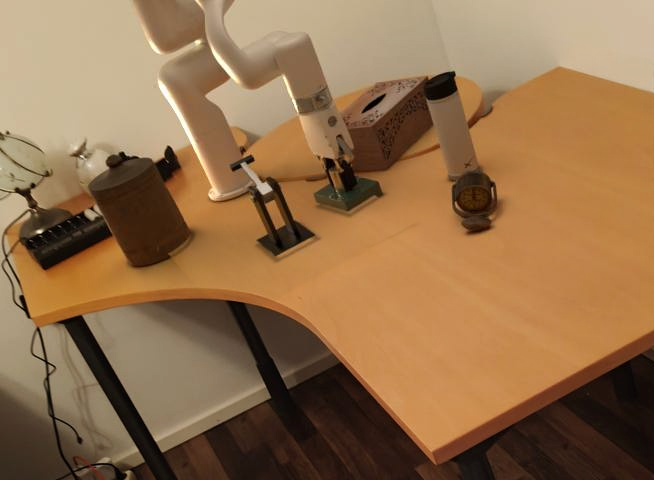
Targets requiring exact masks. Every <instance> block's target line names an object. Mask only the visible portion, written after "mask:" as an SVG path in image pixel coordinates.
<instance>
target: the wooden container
mask: <svg viewBox="0 0 654 480" xmlns="http://www.w3.org/2000/svg"><path fill="white" fill-rule="evenodd" d="M105 165H106V167H108V169H106V170H104V171H102V172H101V173H99V174H98V175H96V176H94V178H93V179H91V180H90V182H89V183H88V184H87V190H88V193H89V194H90V196H91V198H92V199H93V201H94V202H95V204H96V206H97V208H98V210H99V212H100V214H101V216H102V217H103V220H104V221H105V223H106V225H107V227H108V229H109V230H110V232H111V234H112V236H113V238H114V239H115V241H116V243H117V246H119V248H120V249H121V251H122V253H123V255H124V256H125V258H126V260H127V262H128V263H129V264H130V265H131V266H135V267H142V266H148V265H152V264H156V263H158V262H162V261H164V260H166V259H167V258H170V257H171V255H170V253H171V252H173V251H175V250H176V249H178V248H179V247H181V246H182V245H183V244H184V243H185V242H186V241H187V240H188V239H189V237H190V235H191V230H190V228H189V226H188V225H187V221H185V219H184V215H183V214H182V212H181V210H180V208H179V207H178V205H177V203H176V201H175V199H174V198H173V196H172V194H171V192H170V190H169V189H168V187H167V185H166V182H165V181H164V179H163V177H162V175H161V173H160V170H159V169H158V167H157V165H156V163H155V161H154V160H153V159H152V157H151V158H150V157H138V158H133V159H130V160H126V161H124V162H123V158H122V157H121V155H119V154H111V155H109V156H107V158H106V160H105Z"/></svg>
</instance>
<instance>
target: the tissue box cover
mask: <svg viewBox="0 0 654 480" xmlns="http://www.w3.org/2000/svg"><path fill="white" fill-rule="evenodd" d="M429 79H430V78H429V76H428V75H425V76H417V77H411V78H410V77H408V78H400V79H394V80H393V79H392V80H385V81H378V82H375V83H374V84H373V85H371V86H370V88H368V89H367V90H366V91H364V92H363V93H362V94H361V95H359V97H357V98H356V99H355V100H354V101H353V102H352V103H350V104H349V105H348V106H347V107H345V108H344V109H343V110H342V111H341V112H339V113H340V114H341V116H342V119H343V121H344V123H345V125H346V127H347V130H348V132H349V135H350V137H351V140H352V142H353V145H354V149H353V150H352V151H351V152H352V153H353V155H354V159H353V160H352V169H353V172H354V173H358V172H374V171H375V172H377V171H387V170H389V168H390V167H391V166H393V164H394V163H395V162H396V161H397V160H398V159H399V158H400V157H401V156H402V155H403V154H404V153H405V152H406V151H407V150H409V148H410V147H411V146H413V145H414V143H416V141H418V140H419V138H421V137H422V136H423V134H425V133H426V132H427V131H428V130H429V129H430V128H431V126H434V124H433V121H432V117H431V114H430V111H429V107H428V104H427V100H426V96H425V95H426V94H425V93H424V89H423V86H424V85H425V83H426V82H427V81H428V80H429ZM340 154H342V152H341V151H340V152H339V153H338V155H340ZM342 160H344V158H341V159H339V161H340V163H341V162H342Z"/></svg>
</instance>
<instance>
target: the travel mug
mask: <svg viewBox="0 0 654 480" xmlns="http://www.w3.org/2000/svg"><path fill="white" fill-rule="evenodd" d="M456 76H457V73H456V71H455V70H452V71H445V72H441V73H439V74H437V75H435V76H433V77H431V78H428V79H429V80H428V81H427V82H426V83H425V85H424V86H423V89H424V93H425V94H426V95H425V96H426V100H427V104H428V107H429V111H430V114H431V117H432V121H433V127H434V130H435V131H434V132H435V134H436V138H437V141H438V144H439V147H440V151H441V155H442V158H443V160H444V164H445V168H446V171H447V174H448V178H449V179H450V180H451V181H455V182H456V181H457V179H458V177H459V176H460V175H461V174H463V173H464V172H467V171H470V170H478V171H480V165H479V162H478V157H477V154H476V150H475V146H474V143H473V139H472V135H471V132H470V128H469V125H468V124H469V123H468V121H467V117H466V113H465V109H464V107H463V102H462V98H461V95H460V92H459V88H458V85H457V82H456Z"/></svg>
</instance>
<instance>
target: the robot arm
mask: <svg viewBox="0 0 654 480" xmlns="http://www.w3.org/2000/svg"><path fill="white" fill-rule="evenodd" d="M234 2H235V0H130V3H131V5H132V8H133V10H134V13H135V15H136V18H137V20H138V22H139V24H140V26H141V29H142V31H143V34H144V36H145V38H146V40H147V43H148V44H149V46H150V47H151V49H152V50H153V51H154V52H155V53H156V54H159V55H162V56H163V55H164V56H166V55H170V54H173V53H175V52H178V51H180V50H181V49H184V48H185V47H187V46H189V45H191V44H193V43H195V46H194V47H192V48H191V49H189V50H186V51H184V52H183V53H180V54H178V55H177V56H175V57H173V58H171V59H169V60H168V61H166V62H165V63H164V64H163V65H162V66H161V67H160V69H159V70H158V73H157V79H156V80H157V85H158V88H159V89H160V91H161V93H162V94H163V96H164V97H165V99H166V100H167V102H168V103H169V104H170V106H171V107H172V109H173V110H174V112H175V114H176V115H177V117H178V119H179V121H180V123H181V125H182V128H183V129H184V131H185V133H186V135H187V137H188V139H189V141H190V144H191V145H192V147H193V149H194V152H195V154H196V156H197V158H198V161H199V162H200V165H201V166H202V169H203V170H204V173H205V175H206V177H207V180H208V181H209V183H210V185H211V188H210V189H209V191H208V197H209V199H210V200H211V201H214V202H222V201H227V200H231V199H235V198H237V197H239V196H241V195H243V194H245V193H247V192H249V191H248V189H247V187H249V186H253V187H254V188H255V187H256V185H255V184H254V183H253V182H252V180H251V179H250V178H249V177H248V175H247V174H246V173H245V171H244V170H243V169H242V168H240V169H238V170H236V171H234V172H232V170H231V169H230V166H229V165H230V164H232V163H234V162H236V161H239V160H241V159H243V158H244V156H243V154H242V152H241V150H240V147H239V145H238V142H237V140H236V138H235V135H234V133H233V131H232V129H231V126H230V124H229V122H228V120H227V117H226V115H225V113H224V112H223V110H222V109H221V108H220V107H219V106H218V105H217V104H216V103H214V102H213V101H212V100H209V98H207V97H206V95H208V94H209V93H210V92H212V91H214V90H216V89H217V88H219V87H221V86H222V85H224V84H225V83H227V82H228V81H229V80H230V79H232V80H233V81H234V82H235V83H236V84H237V85H238V86H239V87H241V88H243V89H245V90H249V91H255V90H258V89H260V88H262V87H263V86H265V85H267V84H269V83H270V82H272V81H273V80H275V79H277V78H278V77H280V76H281V77H282V80H283V83H284V84H285V87H286V90H287V92H288V94H289V95H288V96H289V98H290V101H291V102H292V105H293V108H294V111H295V112H296V115H297V117H298V118H299V122H300V126H301V128H302V131H303V134H304V138H305V140H306V142H307V145H308V148H309V150H310V152H311V153H312V154H313V155H315V156H316V157H317V160H319V161H320V164H321V168H322V169H323V170H324V172H325V174H326V177H327V180H328V182H329V184H330V185H331V187H334V184H333V181H332V179H331V176H330V174H329V169H330V168H331V167H332V166H334V165H336V166H337V168H338V170H339V173H338V175H339V178H340V180H341V183H342V186H343V188H344V190H346V191H347V190H349V189H351V188H352V187H354V186H355V185H357V180H356V177H355V176H356V174H355V172H353V169H352V160H353V159H354V155H353V153H352V152H351V151H352V150H353V149H354V145H353V142H352V140H351V137H350V135H349V132H348V130H347V127H346V125H345V123H344V121H343V119H342V116H341V114H340V113H341V112H340V110H339V108H338V107H337V106H336V104H335V102H334V99H333V96H332V93H331V91H330V88H329V86H328V83H327V79H326V77H325V74H324V72H323V68H322V66H321V62H320V60H319V58H318V54H317V52H316V48H315V46H314V44H313V41H312V38H311V37H310V35H309V34H308V33H306V32H305V31H295V32H291V33H290V32H288V31H287V32H286V31H282V30H275V31H272V32H269V33H268V34H266V35H264V36H262V37H261V38H258V39H256V40H255V41H253V42H251V43H249V44H248V45H246V46H244V47H242V48H240V47H239V46H238V44H236V42H235V41H234V39H232V37H231V36H230V34H229V32H228V31H227V28H226V25H225V19H224V18H225V15H226V14H227V12H228V11H229V9H230V8H231V7H232V5H233V3H234ZM340 151H341V152H342V154H340V155H338V153H339V152H340ZM341 158H344V160H342V162H341V163H340V161H339V159H341ZM253 172H254V173H255V175H256V176H257V177H258V178H259V179H260V176H259V174H258V173H257V172H256V171H253Z"/></svg>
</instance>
